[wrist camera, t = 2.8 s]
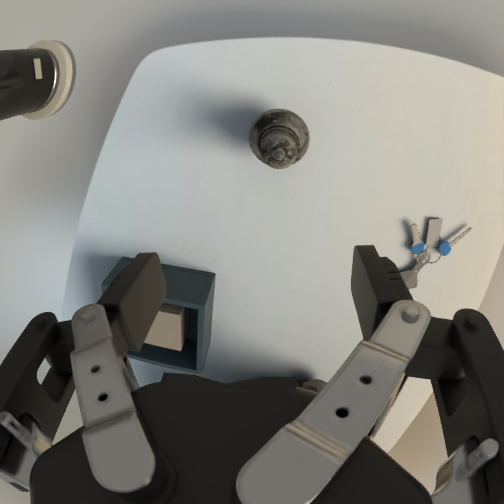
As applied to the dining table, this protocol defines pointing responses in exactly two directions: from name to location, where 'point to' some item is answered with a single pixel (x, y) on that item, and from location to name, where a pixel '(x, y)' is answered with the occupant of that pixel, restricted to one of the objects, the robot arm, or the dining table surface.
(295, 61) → the dining table surface
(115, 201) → the dining table surface
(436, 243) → the key chain
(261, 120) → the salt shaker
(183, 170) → the dining table surface
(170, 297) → the crate
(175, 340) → the block
